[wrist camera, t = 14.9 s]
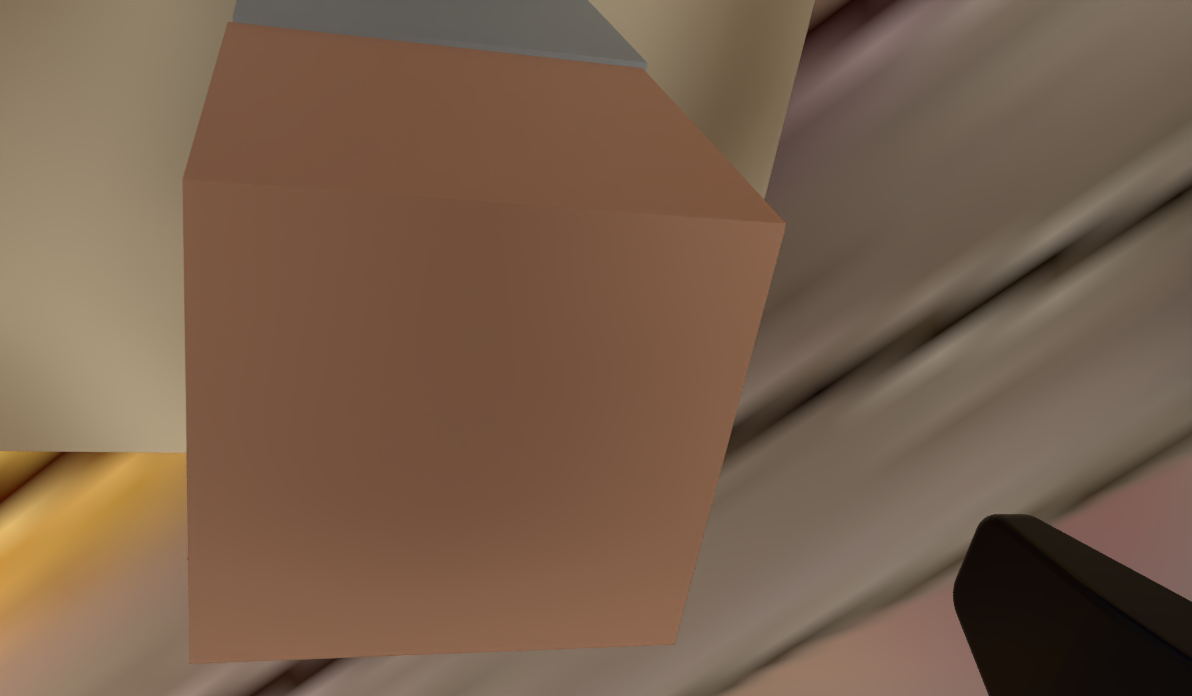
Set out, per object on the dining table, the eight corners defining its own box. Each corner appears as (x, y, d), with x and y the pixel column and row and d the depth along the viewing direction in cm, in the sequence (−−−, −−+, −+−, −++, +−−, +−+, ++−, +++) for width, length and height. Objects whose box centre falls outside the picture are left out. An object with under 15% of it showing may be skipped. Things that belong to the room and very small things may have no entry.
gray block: (570, -19, 18) (648, 62, 14) (528, 255, 20) (584, 397, 16) (254, -62, 17) (232, 14, 12) (248, 238, 19) (229, 387, 15)
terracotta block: (643, 67, 14) (786, 224, 10) (581, 401, 16) (674, 645, 12) (227, 21, 12) (182, 180, 8) (225, 392, 15) (189, 663, 11)
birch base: (844, -273, 18) (883, -272, 17) (679, 420, 25) (698, 458, 24) (-92, -473, 15) (-132, -491, 13) (1, 406, 21) (-18, 450, 20)
